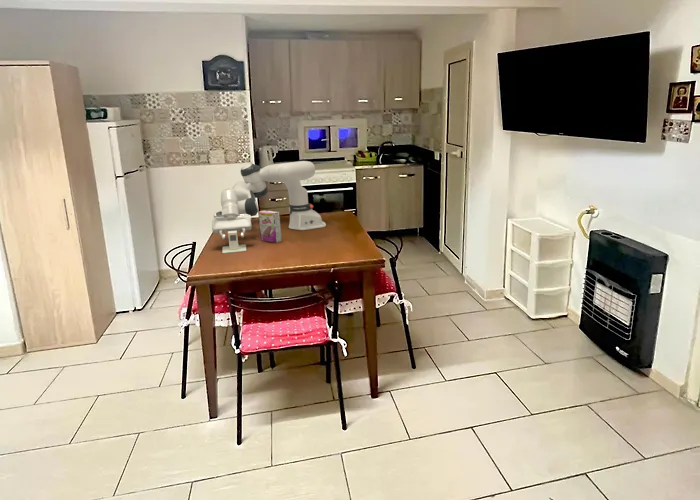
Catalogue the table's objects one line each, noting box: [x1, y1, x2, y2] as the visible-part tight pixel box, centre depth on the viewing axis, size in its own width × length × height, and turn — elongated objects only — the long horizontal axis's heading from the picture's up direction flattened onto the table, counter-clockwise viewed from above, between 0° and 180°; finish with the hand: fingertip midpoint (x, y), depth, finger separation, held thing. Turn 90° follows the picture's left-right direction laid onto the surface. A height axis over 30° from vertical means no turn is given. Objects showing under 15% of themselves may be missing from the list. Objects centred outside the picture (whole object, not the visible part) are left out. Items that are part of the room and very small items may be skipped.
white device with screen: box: [227, 230, 239, 250], centre depth 252 cm, size 4×5×9 cm
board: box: [222, 244, 247, 254], centre depth 253 cm, size 12×12×1 cm
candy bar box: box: [257, 210, 283, 244], centre depth 264 cm, size 11×5×16 cm, turn 59°
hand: (233, 237), depth 251 cm, fingers open, 8 cm apart
